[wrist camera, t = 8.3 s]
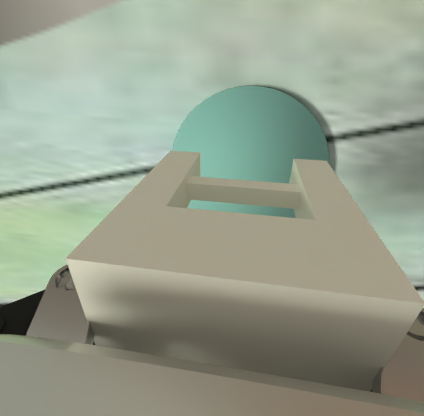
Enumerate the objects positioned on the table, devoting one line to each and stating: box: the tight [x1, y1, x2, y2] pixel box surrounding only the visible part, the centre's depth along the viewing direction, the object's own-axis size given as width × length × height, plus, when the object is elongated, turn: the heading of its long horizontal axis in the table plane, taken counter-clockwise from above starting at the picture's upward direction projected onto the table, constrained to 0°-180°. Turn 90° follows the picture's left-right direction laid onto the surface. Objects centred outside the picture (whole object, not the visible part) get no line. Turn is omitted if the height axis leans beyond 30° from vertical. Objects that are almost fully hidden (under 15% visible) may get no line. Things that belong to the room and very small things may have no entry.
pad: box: [172, 86, 329, 218], centre depth 18 cm, size 11×11×1 cm
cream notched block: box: [66, 151, 424, 392], centre depth 9 cm, size 6×6×7 cm
